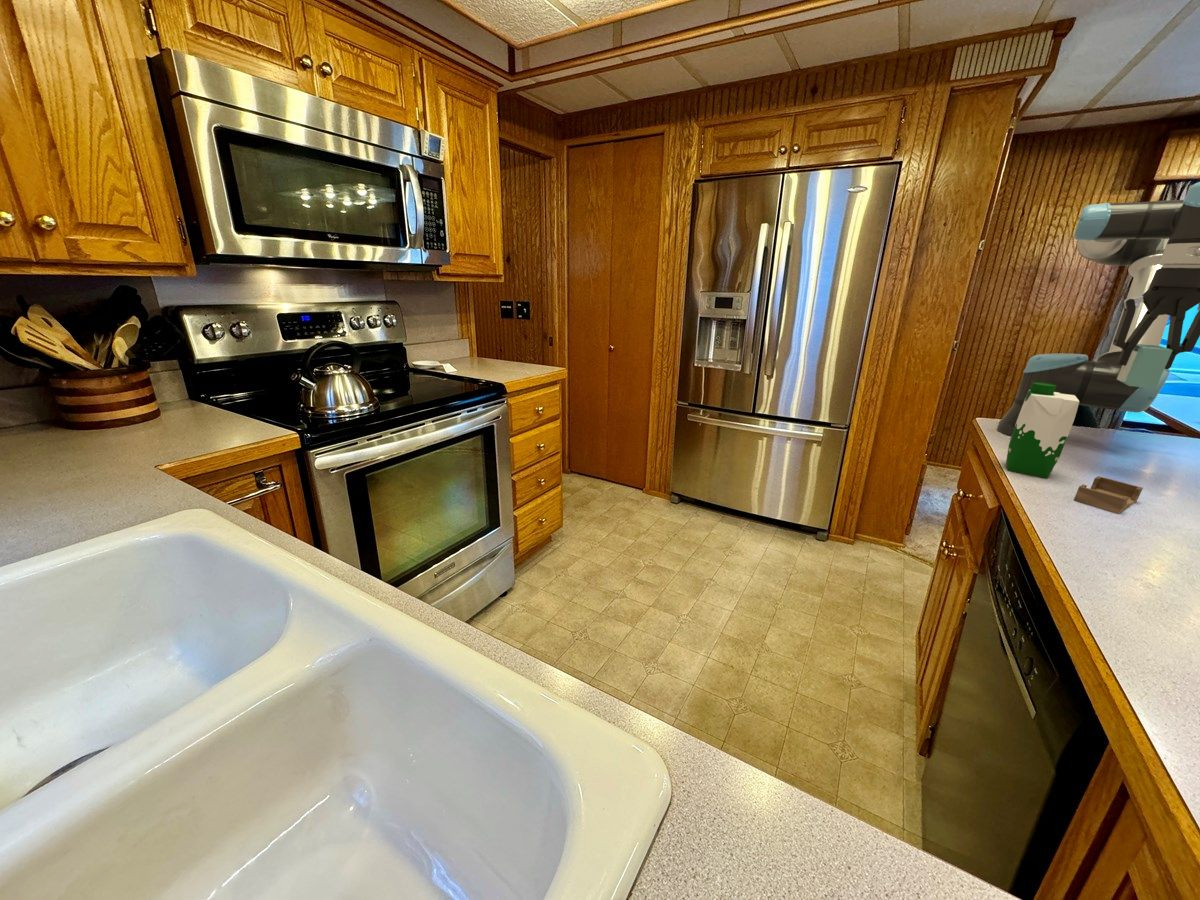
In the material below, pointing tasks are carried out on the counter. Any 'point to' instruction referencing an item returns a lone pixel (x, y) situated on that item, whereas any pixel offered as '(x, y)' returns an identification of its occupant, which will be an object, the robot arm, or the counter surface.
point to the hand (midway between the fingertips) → (1136, 381)
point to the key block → (1147, 366)
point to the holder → (1108, 494)
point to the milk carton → (1041, 430)
